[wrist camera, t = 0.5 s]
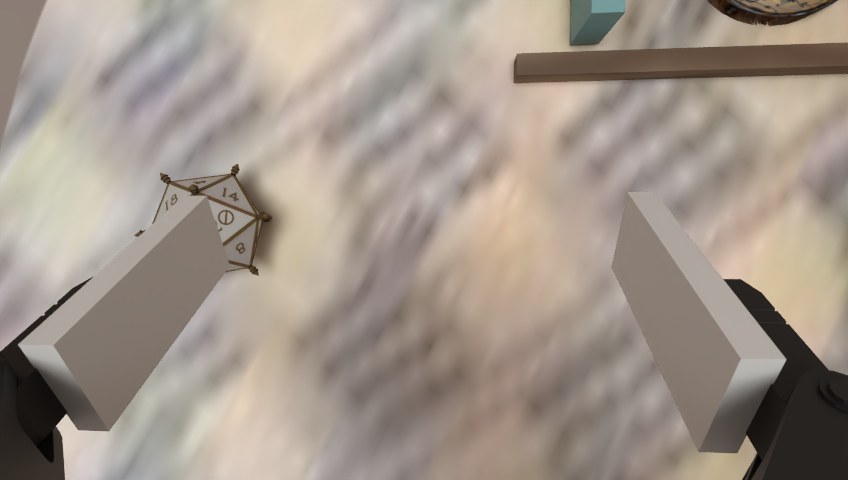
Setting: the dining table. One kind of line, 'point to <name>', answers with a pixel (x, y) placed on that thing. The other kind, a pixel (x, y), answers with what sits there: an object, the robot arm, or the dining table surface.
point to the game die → (222, 213)
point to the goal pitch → (682, 63)
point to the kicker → (594, 19)
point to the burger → (769, 10)
